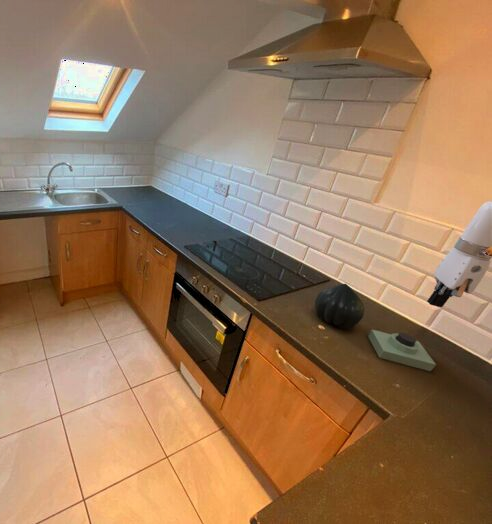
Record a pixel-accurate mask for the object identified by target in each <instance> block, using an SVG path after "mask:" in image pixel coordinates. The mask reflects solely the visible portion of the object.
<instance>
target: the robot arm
mask: <svg viewBox="0 0 492 524" xmlns="http://www.w3.org/2000/svg"><path fill="white" fill-rule="evenodd" d="M490 247H492V200H490V201H485V202H484V203H483V204H482V205H481V206H480V207H479V208H478V210H477V211H476V213H475V214H474V216H473V217H472V219H471V220H470V221H469V223H468V225H467V226H466V228H465V229H464V230H463V232H462V234H461V235H460V237H458V240H457V241H456V242H455V244H454V245H453V247H452V248H451V249H450V250H449V252H448V253H447V254H446V255H445V256H444V257H443V259H442V260H441V261H440V263H439V264H438V265H437V267H436V268H435V270H434V273H433V275H434V280H435V282H436V284H435V286H434V288H433V290H434V291H432V293H431V294H430V296H429V297H428V299H427V301H426V302H427V303H428V304H429V305H430V306H432V307H437V308H443V307H444V305H445V304H446V303H447V302H448V300H449V299H450V298H453V297H458V298H462V296H463V294H464V293H466V294H469V295H470V294H472V293H473V292H474V291H475V290H476V288H477V287H478V286H479V284H480V283H481V281H482V280H483V279H484V277H485V276H486V273H487V271H488V269H489V267H490V264H491V262H492V261H491V259H492V256H489V255H490V254H491V253H490V251H491V250H490V251H488V252H487V253H488V255H486V254H485V253H486V252H485V250H486V249H488V248H490Z"/></svg>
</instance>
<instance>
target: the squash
mask: <svg viewBox="0 0 492 524" xmlns="http://www.w3.org/2000/svg"><path fill="white" fill-rule="evenodd" d="M314 308H315V314H316V316H317V317H318V319H320V320H322V321H324V322H326V323H327V324H333V325H335V326H337V327H338V328H341V329H343V330H350V329H352V328H354V327H355V326H356V325H357V324H359V323H360V321H362V319H363V318H364V315H365V312H366V311H365V304H364V302H363V301H362V299H361V298H360V297H359V296H358V294H357V293H356V292H355V291H354V289H352V287H351V286H349V284H347V283H342V284H338V285H334V286H331V287H328V288H325V289H323V290H322V291H320V292H319V293H318V295H317V296H316V297H315V301H314Z"/></svg>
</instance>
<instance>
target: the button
mask: <svg viewBox="0 0 492 524" xmlns="http://www.w3.org/2000/svg"><path fill="white" fill-rule="evenodd" d="M398 334H399V335H398V336H397V338H396V340H397V341H399V342H400V343H402V344H404V345H406V346H409V347H412V346H413V345H414V344H415V342H416V341H417V339H416V338H415V337H414V336H412V335H411V334H408V333H406V332H399V333H398Z"/></svg>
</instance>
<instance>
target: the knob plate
mask: <svg viewBox="0 0 492 524" xmlns="http://www.w3.org/2000/svg"><path fill="white" fill-rule="evenodd" d="M398 335H399V333H387V332H383V331H380V330H375V329H371V330H370V331H369V333H368V334H367V337H368V339H369V341H370V342H371V345H372V347H373V348H374V350H375V352H376V354H377V356H378V358H380V359H383V360H386V361H391V362H394V363H397V364H401V365H405V366H409V367H413V368H415V369H416V368H417V369H420V370H424V371H427V372H432V370H433V369H435V367H436V366H437V364H436V363H435V361H434V360H433V359H432V357H431V356H430V355H429V353H428V352H427V350H426V349H425V348H424V346H423V345H422V344H421V343H420V341H419V340H416V342H415V344H414V345H413V346H412V347H409V346H406V345H404V344H402V343H400V342H399V341H397V340H396V338H397V336H398Z"/></svg>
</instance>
